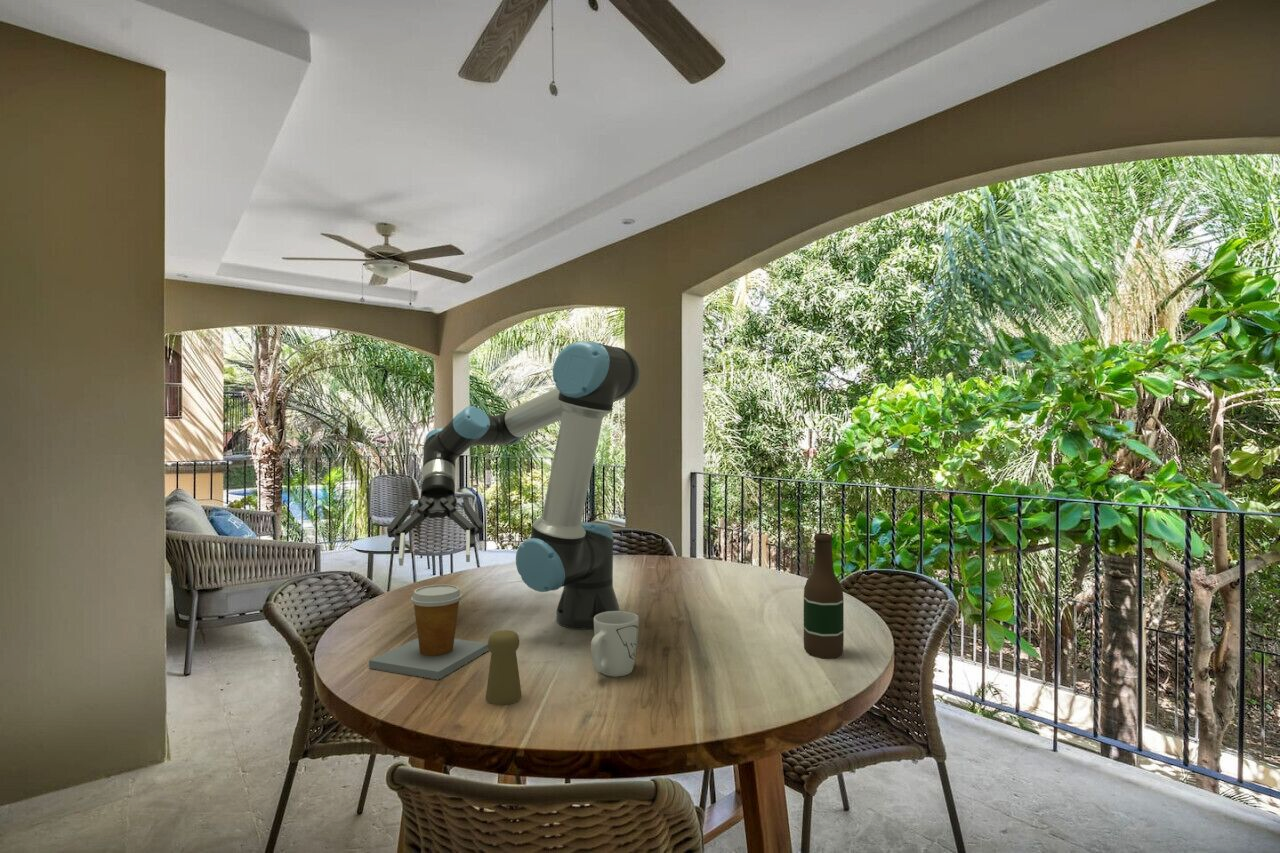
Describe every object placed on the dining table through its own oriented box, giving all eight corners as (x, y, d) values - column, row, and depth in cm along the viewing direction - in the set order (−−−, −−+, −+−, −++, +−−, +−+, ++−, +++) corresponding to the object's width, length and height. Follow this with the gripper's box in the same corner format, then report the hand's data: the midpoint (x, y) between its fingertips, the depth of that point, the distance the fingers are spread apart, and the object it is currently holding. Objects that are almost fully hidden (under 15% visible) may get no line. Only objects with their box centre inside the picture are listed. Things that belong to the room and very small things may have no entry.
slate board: (489, 650, 129) (489, 643, 129) (438, 680, 114) (438, 671, 114) (425, 641, 134) (425, 634, 134) (369, 668, 119) (369, 660, 119)
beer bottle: (843, 648, 130) (843, 532, 130) (843, 661, 123) (843, 538, 123) (805, 644, 133) (805, 530, 133) (802, 656, 125) (802, 536, 125)
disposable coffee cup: (468, 643, 129) (468, 584, 129) (450, 660, 119) (450, 596, 119) (423, 641, 130) (424, 583, 130) (402, 658, 120) (402, 595, 120)
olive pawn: (488, 690, 109) (488, 626, 109) (523, 689, 110) (523, 626, 110) (482, 705, 103) (482, 638, 103) (519, 704, 104) (519, 637, 104)
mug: (612, 689, 110) (612, 631, 110) (574, 678, 114) (574, 623, 114) (647, 667, 120) (647, 615, 120) (610, 659, 124) (610, 608, 124)
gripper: (492, 492, 154) (494, 566, 140) (383, 495, 148) (373, 573, 133) (493, 472, 149) (495, 547, 135) (380, 474, 143) (369, 553, 128)
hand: (434, 560), depth 134 cm, fingers open, 13 cm apart
